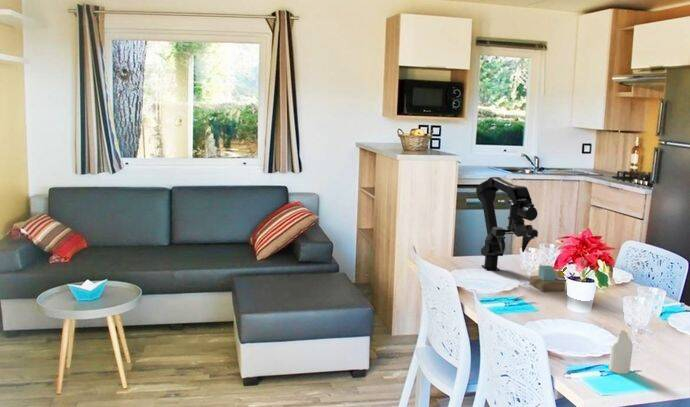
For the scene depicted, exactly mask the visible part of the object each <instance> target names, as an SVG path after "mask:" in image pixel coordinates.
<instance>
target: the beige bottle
mask: <svg viewBox="0 0 690 407" xmlns="http://www.w3.org/2000/svg"><path fill="white" fill-rule="evenodd" d="M617 335H618V336H616V338H615V340H614V341H613V342H612V343H611V346H610V354H609V363H608V370H609V371H610V372H613V373H615V374H619V375H626V374H629V373H630V371H631V370H630V369H631V363H632V356H633V347H634V346H633V342H632V340H631V338H630V337H629V334H628V331H626V330H625V329H621V330H620V331H619V333H618V334H617Z"/></svg>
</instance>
